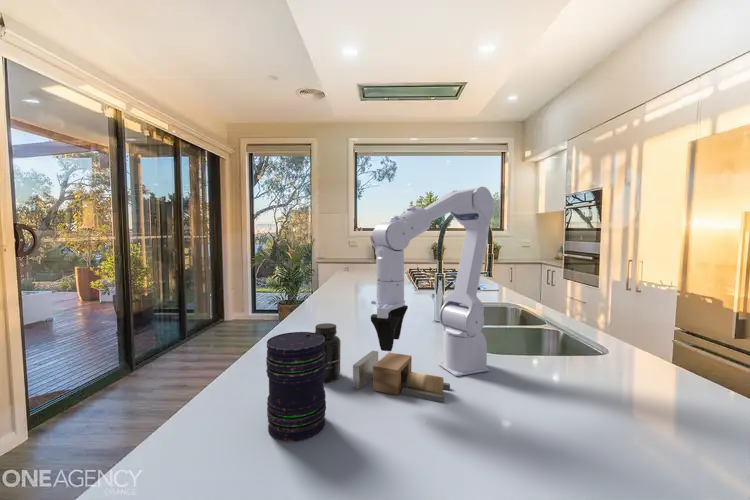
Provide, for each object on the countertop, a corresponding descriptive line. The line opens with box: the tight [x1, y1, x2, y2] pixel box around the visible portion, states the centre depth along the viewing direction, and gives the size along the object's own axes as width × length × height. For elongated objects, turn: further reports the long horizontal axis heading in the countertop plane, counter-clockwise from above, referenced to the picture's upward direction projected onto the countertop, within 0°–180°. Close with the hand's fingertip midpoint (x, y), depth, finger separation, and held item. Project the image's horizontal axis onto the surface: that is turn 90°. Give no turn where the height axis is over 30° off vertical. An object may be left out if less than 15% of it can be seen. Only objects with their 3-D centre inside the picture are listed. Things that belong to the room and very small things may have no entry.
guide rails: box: [401, 382, 451, 403], centre depth 71 cm, size 8×7×1 cm
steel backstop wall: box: [352, 350, 379, 390], centre depth 77 cm, size 2×10×5 cm, turn 156°
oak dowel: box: [406, 371, 445, 395], centre depth 71 cm, size 7×4×4 cm, turn 66°
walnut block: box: [372, 351, 413, 396], centre depth 74 cm, size 6×9×5 cm, turn 156°
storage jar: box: [265, 331, 327, 443], centre depth 58 cm, size 10×10×15 cm
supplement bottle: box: [314, 322, 342, 383], centre depth 78 cm, size 7×7×12 cm
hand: (390, 344), depth 71 cm, fingers open, 7 cm apart
